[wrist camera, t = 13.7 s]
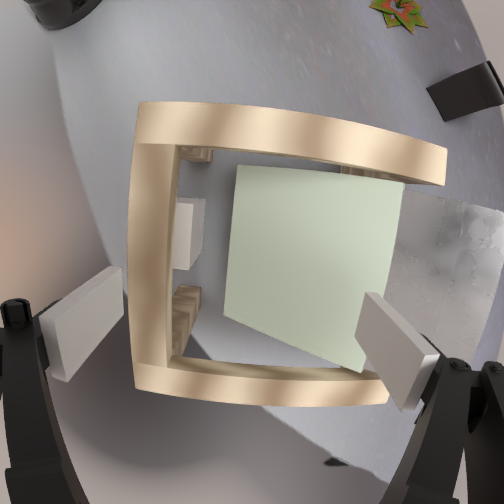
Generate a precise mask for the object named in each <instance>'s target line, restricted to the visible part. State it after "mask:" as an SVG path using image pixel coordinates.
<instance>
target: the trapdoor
mask: <svg viewBox="0 0 504 504" xmlns="http://www.w3.org/2000/svg"><path fill="white" fill-rule="evenodd" d="M503 262H504V212H501V211H497V210H493V209H489V208H486V207H482V206H477V205H473V204H469V203H465V202H462V201H457V200H453V199H448V198H444V197H439V196H434V195H429V194H424V193H419V192H414V191H408V190H405V184H404V183H402V182H396V181H390V180H383V179H377V178H370V177H363V176H356V175H348V174H340V173H332V172H323V171H313V170H303V169H292V168H280V167H267V166H251V165H237V174H236V184H235V193H234V203H233V213H232V223H231V234H230V244H229V255H228V266H227V278H226V289H225V301H224V314H223V315H225V316H227V317H229V318H231V319H233V320H235V321H237V322H240V323H242V324H244V325H246V326H248V327H250V328H253V329H255V330H257V331H259V332H262V333H264V334H266V335H268V336H271V337H273V338H275V339H277V340H280V341H282V342H284V343H287V344H289V345H291V346H294V347H296V348H299V349H301V350H303V351H306V352H308V353H311V354H313V355H315V356H318V357H320V358H323V359H325V360H328V361H330V362H333V363H336V364H338V365H341V366H343V367H346V368H348V369H351V370H354V371H356V372H359V373H361V372H362V371H363V369H367V370H370V371H372V372H375V373H377V372H376V371H375V369H374V368H373V366H372V364H371V363H370V361H369V359H368V358H367V356H366V355H365V353H364V351H363V350H362V348H361V347H360V345H359V343H358V342H357V340H356V339H355V337H354V335H355V331H356V327H357V323H358V319H359V315H360V311H361V307H362V303H363V299H364V295H365V292H375V293H378V294H379V295H380V296H381V297H383V298H384V299H385V300H386V301H387V302H388V303H389V304H390V305H391V306H392V307H393V308H394V309H395V310H396V311H397V312H398V313H399V314H400V315H401V316H402V317H403V318H404V319H405V320H406V321H407V322H409V323H410V324H411V325H412V326H413V327H414V328H415V329H416V330H417V331H418V332H419V333H421V334H423V335H424V336H426V337H427V338H428V339H429V340H430V341H431V343H433V344H434V345H435V347H437V348H438V349H439V350H440V351H441V352H442V353H443V354H444V355H445V356H446V357H447V358H453V357H454V358H459V359H461V360H464V361H465V362H467V363H468V364H469V365H470V363H471V361H472V358H473V356H474V353H475V351H476V349H477V346H478V343H479V341H480V338H481V336H482V333H483V330H484V327H485V325H486V322H487V319H488V316H489V313H490V310H491V306H492V303H493V300H494V297H495V293H496V290H497V286H498V282H499V278H500V274H501V270H502V266H503Z"/></svg>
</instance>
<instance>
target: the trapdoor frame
mask: <svg viewBox="0 0 504 504" xmlns="http://www.w3.org/2000/svg"><path fill="white" fill-rule="evenodd" d="M213 149H215V150H228V151H239V152H249V153H258V154H267V155H276V156H284V157H291V158H298V159H305V160H312V161H318V162H324V163H330V164H336V165H341V171H340V174H348V175H356V176H363V177H370V178H377V179H383V180H390V181H396V182H402V183H406V184H423V185H438V186H444V185H445V175H446V162H447V149H446V148H443V147H440V146H437V145H435V144H431V143H428V142H425V141H422V140H419V139H416V138H412V137H409V136H406V135H402V134H399V133H395V132H391V131H388V130H384V129H380V128H376V127H372V126H368V125H364V124H359V123H355V122H350V121H346V120H341V119H336V118H331V117H326V116H320V115H315V114H309V113H303V112H296V111H289V110H282V109H274V108H266V107H257V106H247V105H236V104H222V103H203V102H140V103H139V109H138V116H137V123H136V130H135V138H134V146H133V156H132V166H131V177H130V190H129V207H128V233H127V284H128V310H129V327H130V340H131V351H132V362H133V370H134V379H135V386H136V389H141V390H146V391H151V392H156V393H161V394H167V395H173V396H179V397H186V398H193V399H200V400H208V401H216V402H226V403H236V404H249V405H265V406H292V407H326V406H353V405H368V404H380V403H386V402H387V399H388V397H389V395H390V394H389V392H388V391H387V389H386V387H385V386H384V384H383V382H382V381H381V379H380V377H379V376H378V374H377V373H375V372H372V371H370V370H367V369H363V371H362V372H361V373H359V372H356V371H354V370H351V369H348V368H346V367H343V366H341V365H340V366H341V368H306V367H283V366H266V365H252V364H241V363H230V362H221V361H212V360H204V359H196V358H188V357H182V355H183V352H184V349H185V346H186V344H187V341H188V338H189V335H190V333H191V330H192V327H193V325H194V322H195V319H196V317H197V314H198V311H199V309H200V299H201V287H192V286H183V285H180V286H179V288H178V289H177V291H176V292H175V294H174V295H173V297H172V272H173V248H174V229H175V214H176V200H177V188H178V177H179V167H180V158H181V159H184V160H187V161H197V162H211V161H212V152H213Z"/></svg>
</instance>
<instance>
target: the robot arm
mask: <svg viewBox="0 0 504 504" xmlns="http://www.w3.org/2000/svg"><path fill="white" fill-rule="evenodd" d="M24 1H25V2H27V3H28V4H29V5H30V7H31V9H32V10H33V12H34V13H35V16H36V19H37V21H38V22H39V23H40V24H41V25H43V26H44V27H46V28H48V29H52V30H56V29H62V28H65V27H67V26H70V25H72V24H74V23H75V22H77V21H79V20H80V19H82V18H83V17H84V16H86V15H87V14H88V13H89V12H91V11H92V10H93V9H94V8H95V7H96V6H97V5H98V4H99V3H100V1H101V0H24ZM0 310H1V315H2V319H3V324H4V328H0V400H1V395H2V392H3V408H4V421H5V430H6V438H7V445H8V452H9V457H10V463H11V468H7V469H6V470H5V478H6V484H7V488H8V492H9V496H10V501H11V504H90V503H89V502H88V499H87V497H86V495H85V493H84V491H83V488H82V486H81V484H80V482H79V479H78V477H77V474H76V472H75V470H74V467H73V465H72V462H71V459H70V457H69V454H68V451H67V448H66V445H65V443H64V440H63V437H62V433H61V430H60V427H59V424H58V420H57V417H56V413H55V410H54V406H53V402H52V398H51V394H50V390H49V386H48V382H47V377H46V373H45V370H46V369H47V368H48V367H49V365H50V369H51V372H52V376H53V377H54V378H57V379H59V380H62V381H66V382H68V381H69V380H70V379H71V377H72V376H73V375H74V373H75V372H76V371H77V370H78V368H79V367H80V366H81V365H82V364H83V362H84V361H85V360H86V359H87V357H88V356H89V355H90V354H91V353H92V351H93V350H94V349H95V348H96V346H97V345H98V344H99V343H100V342H101V340H102V339H103V338H104V337H105V336H106V334H107V333H108V332H109V331H110V330H111V329H112V327H113V326H114V325H115V324H116V323H117V321H118V320H119V319H120V318H121V317H122V316H123V314H124V310H123V290H122V268H121V267H113V266H109V267H107V268H106V269H104V270H103V271H101V272H100V273H99V274H97V275H96V276H94V277H93V278H91V279H90V280H89V281H87V282H85V283H84V284H83V285H81V286H80V287H78V288H77V289H76V290H74V291H73V292H71V293H70V294H69V295H67V296H66V297H65V298H62V299H59V300H57V301H54V302H53V303H51V304H50V305H49V306H48V307H46V308H45V309H44V310H43V311H40V312H39V313H38V314H36V315H35V316H34V317H32V315H31V309H30V303H29V301H27V300H26V299H21V298H17V299H10V300H7V301H5V302H4V303H2V304H1V306H0ZM354 337H355V339H356V340H357V342H358V343H359V345H360V347H361V348H362V350H363V351H364V353H365V355H366V356H367V358H368V359H369V361H370V363H371V364H372V366H373V368H374V369H375V371H376V372H377V374H378V376H379V377H380V379H381V381H382V382H383V384H384V386H385V387H386V389H387V391H388V392H389V394H390V396H391V397H392V399H393V401H394V402H395V404H396V406H397V407H398V409H399V411H400V412H401V411H408V410H415V408H416V406H417V404H418V402H419V400H420V398H421V399H422V400H423V402H424V403H425V404H424V406H423V408H422V410H421V412H420V414H419V415H418V417H417V419H416V421H415V423H414V424H416V426H415V428H414V431H413V434H412V436H411V439H410V441H409V443H408V446H407V448H406V450H405V453H404V455H403V457H402V460H401V462H400V464H399V466H398V468H397V470H396V472H395V474H394V476H393V478H392V480H391V482H390V484H389V486H388V488H387V490H386V492H385V494H384V496H383V498H382V499H381V501H380V503H379V504H459V500H458V499H456V498H452V497H453V492H454V488H455V485H456V480H457V476H458V472H459V468H460V463H461V458H462V453H463V447H464V451H465V461H466V472H467V490H468V504H504V366H502V364H501V363H498V362H493V361H487V362H485V364H484V365H483V368H482V370H481V371H472V370H471V366H470V365H469V364H468V363H467V362H465V361H464V360H461V359H459V358H454V357H453V358H447V357H446V356H445V355H444V354H443V353H442V352H441V351H440V350H439V349H438V348H437V347H435V345H434V344H433V343H431V341H430V340H429V339H428V338H427V337H426V336H424V335H423V334H421V333H419V332H418V331H417V330H416V329H415V328H414V327H413V326H412V325H411V324H410V323H409V322H407V321H406V320H405V319H404V318H403V317H402V316H401V315H400V314H399V313H398V312H397V311H396V310H395V309H394V308H393V307H392V306H391V305H390V304H389V303H388V302H387V301H386V300H385V299H384V298H383V297H381V296H380V295H379V294H378V293H375V292H365V295H364V299H363V303H362V307H361V311H360V315H359V319H358V323H357V327H356V331H355V335H354Z"/></svg>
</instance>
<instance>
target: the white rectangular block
mask: <svg viewBox="0 0 504 504" xmlns="http://www.w3.org/2000/svg"><path fill="white" fill-rule="evenodd" d="M205 203H206V199H198V198H184V197H177V200H176V214H175V229H174V248H173V269H181V270H190V268H191V267H192V265H193V264H194V262H195V261H196V259H197V258H198V256H199V255H200V253H201V252H202V243H203V229H204V215H205Z"/></svg>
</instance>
